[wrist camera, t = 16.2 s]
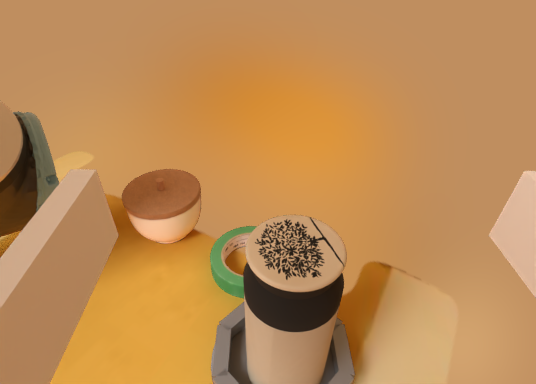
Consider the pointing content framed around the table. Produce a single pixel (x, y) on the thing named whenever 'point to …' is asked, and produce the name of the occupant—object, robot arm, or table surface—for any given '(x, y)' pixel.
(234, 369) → the socket ring
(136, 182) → the lidded jar
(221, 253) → the tape roll
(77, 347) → the table surface
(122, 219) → the table surface
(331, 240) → the travel mug
